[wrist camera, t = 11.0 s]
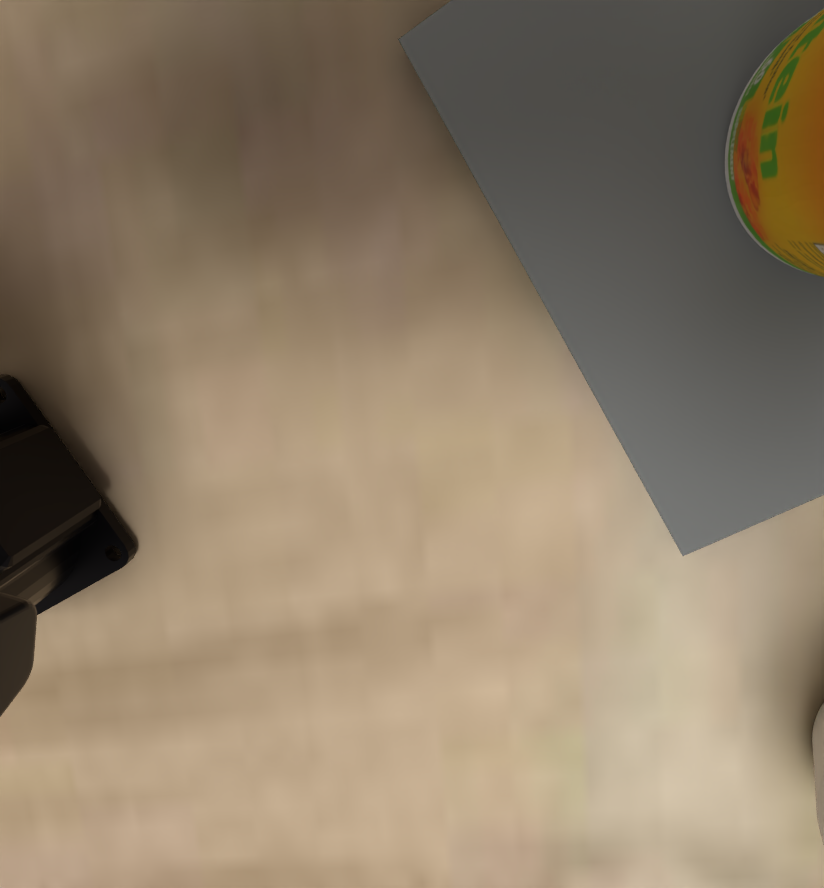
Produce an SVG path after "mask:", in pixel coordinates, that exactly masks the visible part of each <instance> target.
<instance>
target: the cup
mask: <svg viewBox="0 0 824 888" xmlns="http://www.w3.org/2000/svg"><path fill="white" fill-rule="evenodd" d="M812 746H813V761H814V777H815V792H816V808H817V819H818V824H819V828H820V832H821V836H822V840H823V844H824V703H823V704H822V706H821V708H820V709H819V712H818V714H817V716H816V719H815V722H814V726H813V732H812Z"/></svg>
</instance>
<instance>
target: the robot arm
mask: <svg viewBox="0 0 824 888" xmlns="http://www.w3.org/2000/svg"><path fill="white" fill-rule="evenodd" d="M0 387H1V388H2V389H3V390H4V391H5V393H6V399H5V398H3V397H2V396H1V393H0V717H1V715H2V714H3V713H4V711H5V710H6V709H7V707H8V706H9V705H10V703H11V702H12V701H13V699H14V698H15V697H16V695H17V694H18V693H19V692H20V690H21V689H22V687H23V686H24V685H25V683H26V681H27V679H28V678H29V675H30V673H31V670H32V667H33V661H34V649H35V635H36V622H37V615H38V614H40V613H42V612H44V611H45V610H47V609H49V608H51V607H52V606H54V605H56V604H58V603H60V602H61V601H63V600H65V599H67V598H69V597H70V596H72V595H74V594H76V593H77V592H79V591H81V590H83V589H85V588H86V587H88V586H90V585H92V584H94V583H95V582H97V581H99V580H101V579H102V578H104V577H106V576H108V575H110V574H111V573H113V572H115V571H117V570H119V569H120V568H122V567H124V566H125V565H126V564H127V563H128V562H129V561H131V560H132V559H133V558H134V556H135V553H136V548H135V545H134V543H133V540H132V539H131V538H130V536H129V535H128V534H127V532H126V531H125V529H124V528H123V527H122V525H121V524H120V522H119V521H118V520H117V518H116V517H115V515H114V514H113V513H112V511H111V510H110V508H109V507H108V506H107V504H106V503H105V501H104V500H103V499H102V497H101V496H100V494H99V493H98V492H97V490H96V489H95V487H94V486H93V485H92V483H91V482H90V480H89V479H88V478H87V476H86V475H85V473H84V472H83V471H82V469H81V468H80V466H79V465H78V464H77V462H76V461H75V460H74V458H73V457H72V455H71V454H70V453H69V451H68V450H67V448H66V447H65V446H64V444H63V443H62V441H61V440H60V439H59V437H58V436H57V434H56V433H55V432H54V430H53V429H52V427H51V426H50V425H49V423H48V422H47V420H46V419H45V418H44V416H43V415H42V413H41V412H40V411H39V409H38V408H37V406H36V405H35V404H34V402H33V401H32V399H31V398H30V397H29V395H28V394H27V392H26V391H25V390H24V388H23V387H22V385H21V384H20V383H19V382H18V381H17V380H16V379H15V378H14V377H12V376H10V375H3V374H2V375H0ZM112 546H116V547H117V548H118V549H119V550H120V552H121V555H119V554H117V553H116V552H114V550H113V548H112Z"/></svg>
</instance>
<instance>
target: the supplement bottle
mask: <svg viewBox="0 0 824 888" xmlns="http://www.w3.org/2000/svg"><path fill="white" fill-rule="evenodd" d="M725 177H726V184H727V189H728V194H729V197H730V200H731V203H732V206H733V208H734V211H735V213H736V215H737V217H738V219H739V220H740V222H741V224H742V226H743V227H744V228H745V230H746V231H747V233H748V234H749V235H750V236H751V238H752V239H753V240H754V241H755V242H756V243H757V244H758V245H759V246H760V247H761V248H763V249H764V250H765V251H766V252H768V253H769V254H770V255H772V256H773V257H775V258H776V259H778V260H780V261H781V262H783V263H785V264H787V265H789V266H791V267H793V268H796V269H798V270H801V271H804V272H807V273H810V274H814V275H817V276H821V277H824V8H823V9H822V10H821V11H819V12H818V13H817V14H815V15H814V16H813V17H811V18H810V19H808V20H807V21H806V22H804V23H803V24H802V25H800V26H799V27H798V28H797V29H795V30H794V31H793V32H792V33H791V34H790V35H788V36H787V37H786V38H785V39H784V40H783V41H782V42H781V43H780V44H779V45H778V46H776V47H775V48H774V49H773V51H772V52H771V53H770V54H769V55H768V56H767V57H766V58H765V60H764V61H763V62H762V63H761V65H760V66H759V67H758V69H757V70H756V71H755V73H754V74H753V76H752V77H751V79H750V80H749V82H748V84H747V85H746V87H745V89H744V91H743V93H742V95H741V97H740V99H739V101H738V103H737V106H736V108H735V111H734V113H733V116H732V119H731V123H730V126H729V130H728V136H727V141H726V147H725Z"/></svg>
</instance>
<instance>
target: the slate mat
mask: <svg viewBox="0 0 824 888" xmlns="http://www.w3.org/2000/svg"><path fill="white" fill-rule="evenodd" d="M823 8H824V0H451V1H450V2H448V3H447V4H446V5H444V6H443V7H441V8H440V9H439V10H437V11H436V12H435V13H433V14H432V15H431V16H429V17H428V18H426V19H425V20H424V21H422V22H421V23H420V24H418V25H417V26H416V27H414V28H413V29H412V30H410V31H409V32H407V33H406V34H405V35H403V36H402V37H401V38H399V39H398V40H399V42H400V43H401V45H402V47H403V49H404V51H405V53H406V54H407V56H408V58H409V60H410V62H411V63H412V65H413V67H414V69H415V71H416V73H417V74H418V76H419V78H420V80H421V82H422V83H423V85H424V87H425V89H426V91H427V92H428V94H429V96H430V98H431V100H432V102H433V103H434V105H435V107H436V109H437V111H438V112H439V114H440V116H441V118H442V120H443V122H444V123H445V125H446V127H447V129H448V131H449V132H450V134H451V136H452V138H453V140H454V142H455V143H456V145H457V147H458V149H459V151H460V152H461V154H462V156H463V158H464V160H465V161H466V163H467V165H468V167H469V169H470V171H471V172H472V174H473V176H474V178H475V180H476V181H477V183H478V185H479V187H480V189H481V191H482V192H483V194H484V196H485V198H486V200H487V201H488V203H489V205H490V207H491V209H492V211H493V212H494V214H495V216H496V218H497V220H498V221H499V223H500V225H501V227H502V229H503V230H504V232H505V234H506V236H507V238H508V240H509V241H510V243H511V245H512V247H513V249H514V250H515V252H516V254H517V256H518V258H519V260H520V261H521V263H522V265H523V267H524V269H525V270H526V272H527V274H528V276H529V278H530V280H531V281H532V283H533V285H534V287H535V289H536V290H537V292H538V294H539V296H540V298H541V300H542V301H543V303H544V305H545V307H546V309H547V310H548V312H549V314H550V316H551V318H552V319H553V321H554V323H555V325H556V327H557V329H558V330H559V332H560V334H561V336H562V338H563V339H564V341H565V343H566V345H567V347H568V349H569V350H570V352H571V354H572V356H573V358H574V359H575V361H576V363H577V365H578V367H579V369H580V370H581V372H582V374H583V376H584V378H585V379H586V381H587V383H588V385H589V387H590V388H591V390H592V392H593V394H594V396H595V398H596V399H597V401H598V403H599V405H600V407H601V408H602V410H603V412H604V414H605V416H606V418H607V419H608V421H609V423H610V425H611V427H612V428H613V430H614V432H615V434H616V436H617V438H618V439H619V441H620V443H621V445H622V447H623V448H624V450H625V452H626V454H627V456H628V457H629V459H630V461H631V463H632V465H633V467H634V468H635V470H636V472H637V474H638V476H639V477H640V479H641V481H642V483H643V485H644V487H645V488H646V490H647V492H648V494H649V496H650V497H651V499H652V501H653V503H654V505H655V507H656V508H657V510H658V512H659V514H660V516H661V517H662V519H663V521H664V523H665V525H666V526H667V528H668V530H669V532H670V534H671V536H672V537H673V539H674V541H675V543H676V545H677V546H678V548H679V550H680V552H681V554H682V556H684V555H687V554H689V553H691V552H694V551H696V550H698V549H700V548H703V547H705V546H707V545H710V544H712V543H714V542H717V541H719V540H721V539H723V538H726V537H728V536H730V535H733V534H735V533H737V532H740V531H742V530H744V529H746V528H749V527H751V526H753V525H756V524H758V523H760V522H763V521H765V520H767V519H769V518H772V517H774V516H776V515H779V514H781V513H783V512H786V511H788V510H790V509H793V508H795V507H797V506H799V505H802V504H804V503H806V502H809V501H811V500H813V499H816V498H818V497H820V496H822V495H824V277H821V276H817V275H814V274H810V273H807V272H804V271H801V270H798V269H796V268H793V267H791V266H789V265H787V264H785V263H783V262H781V261H780V260H778V259H776V258H775V257H773V256H772V255H770V254H769V253H768V252H766V251H765V250H764V249H763V248H761V247H760V246H759V245H758V244H757V243H756V242H755V241H754V240H753V239H752V238H751V236H750V235H749V234H748V233H747V231H746V230H745V228H744V227H743V226H742V224H741V222H740V220H739V219H738V217H737V215H736V213H735V211H734V208H733V206H732V203H731V200H730V197H729V194H728V189H727V184H726V177H725V147H726V141H727V136H728V130H729V126H730V123H731V119H732V116H733V113H734V111H735V108H736V106H737V103H738V101H739V99H740V97H741V95H742V93H743V91H744V89H745V87H746V85H747V84H748V82H749V80H750V79H751V77H752V76H753V74H754V73H755V71H756V70H757V69H758V67H759V66H760V65H761V63H762V62H763V61H764V60H765V58H766V57H767V56H768V55H769V54H770V53H771V52H772V51H773V49H774V48H775V47H776V46H778V45H779V44H780V43H781V42H782V41H783V40H784V39H785V38H786V37H787V36H788V35H790V34H791V33H792V32H793V31H794V30H795V29H797V28H798V27H799V26H800V25H802V24H803V23H804V22H806V21H807V20H808V19H810V18H811V17H813V16H814V15H815V14H817V13H818V12H819V11H821V10H822V9H823Z"/></svg>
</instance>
